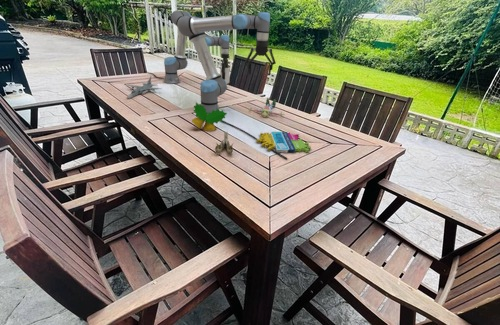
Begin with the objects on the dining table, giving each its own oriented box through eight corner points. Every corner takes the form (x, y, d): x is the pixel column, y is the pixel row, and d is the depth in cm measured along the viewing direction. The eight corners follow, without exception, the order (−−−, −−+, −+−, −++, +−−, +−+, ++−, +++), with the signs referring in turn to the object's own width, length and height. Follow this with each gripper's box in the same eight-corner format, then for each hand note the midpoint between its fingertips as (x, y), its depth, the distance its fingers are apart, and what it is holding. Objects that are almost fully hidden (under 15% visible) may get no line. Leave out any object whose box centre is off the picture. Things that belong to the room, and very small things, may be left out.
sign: (313, 150, 142) (258, 149, 139) (312, 153, 143) (258, 152, 140) (301, 132, 164) (254, 130, 161) (301, 134, 165) (254, 133, 162)
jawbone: (234, 135, 144) (233, 125, 135) (233, 160, 138) (232, 151, 129) (217, 135, 144) (216, 125, 135) (216, 160, 138) (214, 150, 129)
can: (219, 82, 252) (219, 68, 246) (221, 81, 260) (221, 67, 254) (228, 83, 252) (228, 69, 245) (230, 81, 260) (230, 68, 253)
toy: (288, 100, 208) (284, 110, 182) (287, 109, 211) (283, 120, 186) (254, 96, 213) (245, 105, 187) (254, 104, 216) (245, 115, 190)
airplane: (121, 88, 233) (119, 76, 228) (157, 85, 246) (156, 75, 241) (125, 101, 205) (123, 88, 199) (166, 97, 218) (165, 85, 213)
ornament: (218, 133, 171) (224, 110, 169) (221, 134, 163) (227, 111, 161) (186, 125, 162) (192, 101, 160) (189, 126, 155) (195, 101, 153)
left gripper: (225, 55, 233) (225, 80, 244) (231, 52, 252) (231, 76, 263) (217, 54, 234) (217, 80, 245) (224, 52, 253) (224, 76, 264)
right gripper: (279, 40, 172) (276, 73, 183) (242, 38, 168) (240, 72, 179) (282, 41, 166) (278, 76, 176) (243, 39, 162) (242, 74, 172)
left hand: (224, 78), depth 254 cm, fingers closed on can, 9 cm apart
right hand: (259, 74), depth 177 cm, fingers open, 13 cm apart
